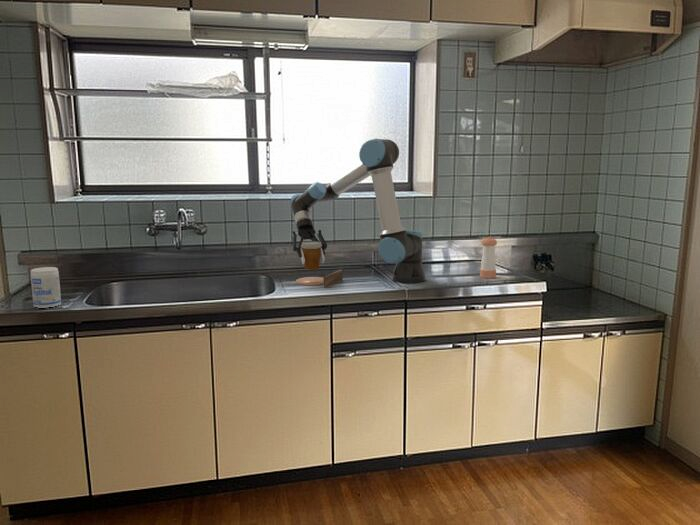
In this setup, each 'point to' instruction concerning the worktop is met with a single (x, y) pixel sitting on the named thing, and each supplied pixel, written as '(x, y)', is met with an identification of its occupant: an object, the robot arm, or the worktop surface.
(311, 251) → the disposable coffee cup
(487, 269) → the pepper shaker
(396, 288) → the worktop surface
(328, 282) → the walnut wall
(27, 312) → the worktop surface
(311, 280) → the terracotta coaster
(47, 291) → the supplement tub
